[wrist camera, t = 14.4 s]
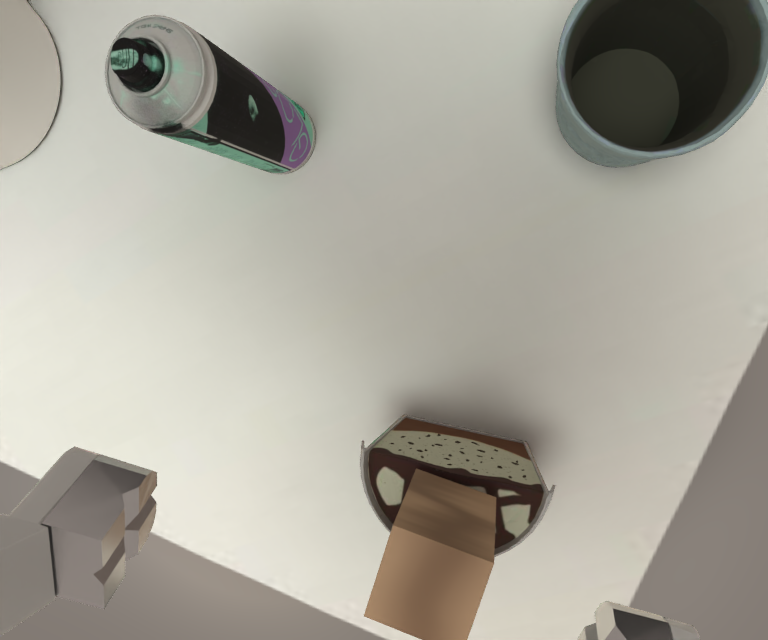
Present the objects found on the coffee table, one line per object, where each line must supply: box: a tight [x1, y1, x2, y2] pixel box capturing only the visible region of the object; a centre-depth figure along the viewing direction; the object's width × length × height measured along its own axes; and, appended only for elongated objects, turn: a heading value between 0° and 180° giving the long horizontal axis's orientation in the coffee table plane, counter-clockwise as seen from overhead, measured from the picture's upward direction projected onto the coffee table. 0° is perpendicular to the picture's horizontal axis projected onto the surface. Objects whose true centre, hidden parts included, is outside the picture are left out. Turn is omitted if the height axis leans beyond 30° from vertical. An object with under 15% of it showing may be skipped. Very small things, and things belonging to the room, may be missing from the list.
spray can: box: [105, 15, 316, 174], centre depth 37 cm, size 6×6×20 cm
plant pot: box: [556, 0, 768, 167], centre depth 37 cm, size 10×10×12 cm
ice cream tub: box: [360, 415, 555, 557], centre depth 43 cm, size 12×6×10 cm, turn 81°
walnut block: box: [364, 469, 496, 640], centre depth 34 cm, size 5×5×8 cm
